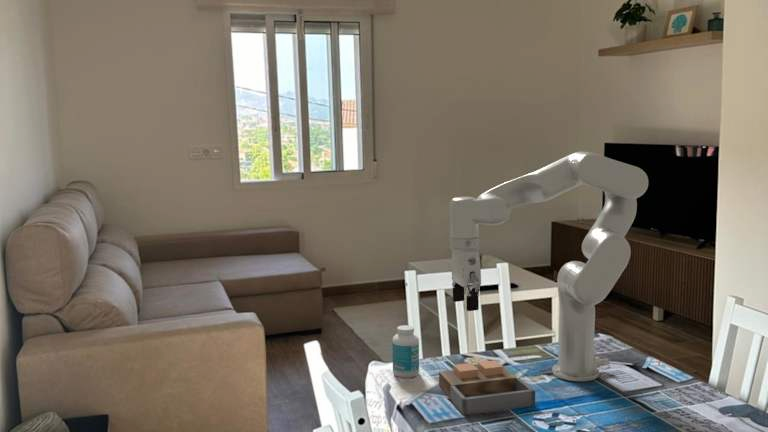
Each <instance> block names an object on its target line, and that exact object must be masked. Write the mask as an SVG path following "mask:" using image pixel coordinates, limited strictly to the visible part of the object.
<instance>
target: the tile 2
mask: <svg viewBox="0 0 768 432" xmlns="http://www.w3.org/2000/svg"><path fill="white" fill-rule="evenodd" d="M502 365H503V364H501V365H500V363H499V362H498V361H497V360H495V359H494V360H483V361H478V362H477V367H478V370H479V371H480V372H481V373H482V374H484V375H485V376H488V375H497V374H503V366H504V365H503V366H502Z"/></svg>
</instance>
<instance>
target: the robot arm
mask: <svg viewBox="0 0 768 432" xmlns="http://www.w3.org/2000/svg"><path fill="white" fill-rule="evenodd" d="M581 185H584V186H587V187H588V186H589V187H591V188H594V189H597V190H599V191H601V192H602V191H603V192H604V206H603V208H602V210H601V212H600V213H599V215H598V217H597V219H596V220H595V222H594V223H593V225H592V226H591V228H590V229H589V231H588V233H586V235H585V237H584V239H583V240H582V243H581V252H582V254H583V256H584V257H585V258H586V259H587V261H586V263H585V262H582V261H580V260H579V261H578V260H571V261H569V262H566V263H564V264H563V265H562V266H561V268H560V269H559V271H558V272H557V273H558V274H557V278H556V281H557V282H556V283H557V284H556V285H557V286H556V287H557V293H558V308H559V309H558V312H559V313H558V345H557V346H558V348H557V350H558V353H557V357H558V358H557V363H556V364H554V365H552V368H551V369H552V372H551V373H552V374H553V375H554V376H555V377H557V378H560V379H561V380H562V379H563V380H565V381H571V382H579V383H580V382H582V383H583V382H591V381H594V380H596V379H598V378H599V376H600V370H599V369H598V368H600V367H601V366H602V367H604V366H606V367H607V366H610V363H611V362H610V359H609V358H608V357H606V358H600V356H595V329H596V328H595V326H596V324H595V321H596V307H595V306H596V305H598V304H599V303H601V302H602V301H604V299H606V298H607V296H609V293H610V292H611V291H612V289H613V288H614V286H615V284H616V283H618V279H620V277H621V276H622V273H623V272H624V270H625V269H626V268H627V265H629V261H630V259H631V254H632V253H631V252H632V251H631V245H630V243H629V242H628V240H627V239H626V238H625V237H626V235H627V233H628V232H629V230H630V228H631V226H632V224H633V223H634V220H635V219H636V216H637V211H638V210H637V209H638V208H637V207H638V202H637V201H638V200H637V199H638V198H640V197H641V196H643V195H644V194H645V193H646V191H647V190H648V187H649V178H648V175H647V173H646V172H645V171H644V170H643V169H642V168H640V167H638V166H635V165H632V164H629V163H626V162H622V161H619V160H616V159H612V158H610V157H607V156H605V155H604V156H603V155H602V154H599V153H595V152H591V151H590V152H589V151H575V152H573V153H570V154H567V155H565V156H564V157H562V158H559V159H558V160H556V161H554V162H552V163H550V164H548V165H546V166H544V167H541V168H539V169H537V170H535V171H533V172H529V173H528V174H527V173H526V174H524V175H522V176H519V177H517V178H514V179H511V180H508V181H505V182H504V183H501V184H499V185H497V186H495V187H493V188H491V189H489V190H487V191H485V192H483V193H481V194H480V195H479V196H477V198H476V197H473V196H456V197H453V198H452V199H451V200H450V202H449V218H450V219H449V221H450V225H449V226H450V234H449V235H450V250H452V252H451V280H452V284H451V285H452V301H453V302H454V303H455V302H464V301H466V311H467V312H471V311H472V312H473V311H479V303H480V302H479V297H480V287H481V285H482V273H481V272H482V271H481V259H480V253H479V250H480V233H479V232H480V225H487V226H488V225H489V226H498V225H501V224H504V223H505V222H506V221H508V219H509V218H510V215H511V214H510V213H511V209H514V208H516V207H520V206H522V205H525V204H526V205H527V204H537V203H544V202H547V201H550V200H553V199H554V198H557V197H558V196H560V195H562V194H564V193H566V192H568V191H571V190H573V189H575V188H577V187H579V186H581ZM465 291H466V294H467V295H466V297H465ZM594 356H595V357H594Z"/></svg>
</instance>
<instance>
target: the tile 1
mask: <svg viewBox="0 0 768 432" xmlns="http://www.w3.org/2000/svg"><path fill="white" fill-rule="evenodd" d="M476 367H477V366H475V365H474V364H473V363H471V362H467V363H460V364H459V363H458V364H453V369H452V370H453V372H454V373H455V374H456V375H457V376H458V377H459V378H460V379H463V378H472V377H478V369H477V368H476Z"/></svg>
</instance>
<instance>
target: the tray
mask: <svg viewBox="0 0 768 432" xmlns="http://www.w3.org/2000/svg"><path fill="white" fill-rule="evenodd" d="M449 400H450V402H451V403H452V404H453V406H454V407H455V408H456V409H457V410H458V412H459V413H461V415H462V416H469V415H470V416H471V415H477V414H485V413H492V412H501V411H507V410H514V409H516V410H517V409H522V408H523V409H524V408H529V407H535V406H536V390H535V389H534V388H533V387H532V386H531V385H529V384H528V383H527V382H525V381H524V380H523V379H522V378H521V377H517V378H516V390H515V391H507V392H500V393H492V394H484V395H476V396H468V397H465V396H464V395H463V394H462V393H461V392H460V391H459V390H458V389H457V388H456V387H455V386H450V398H449Z"/></svg>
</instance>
